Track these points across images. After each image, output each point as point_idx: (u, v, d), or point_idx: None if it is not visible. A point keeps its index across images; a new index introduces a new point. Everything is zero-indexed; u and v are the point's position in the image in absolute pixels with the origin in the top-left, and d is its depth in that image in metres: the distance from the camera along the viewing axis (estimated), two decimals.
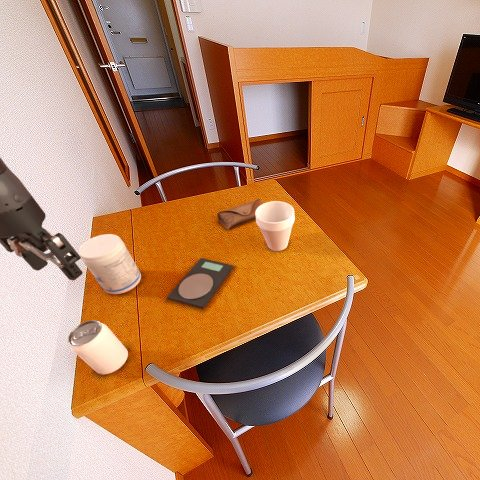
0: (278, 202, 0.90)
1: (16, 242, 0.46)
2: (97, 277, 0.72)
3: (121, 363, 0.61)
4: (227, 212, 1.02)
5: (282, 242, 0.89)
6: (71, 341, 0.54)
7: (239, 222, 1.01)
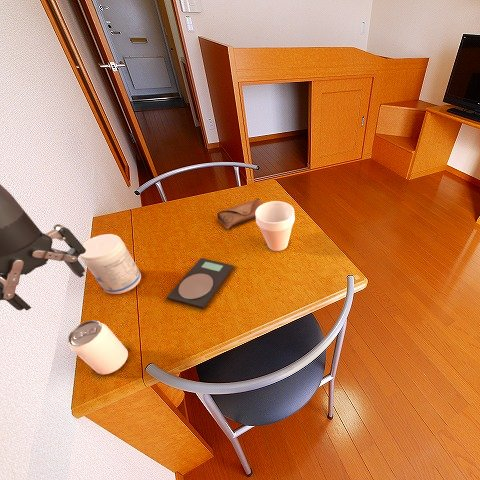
0: (278, 202, 0.90)
1: None
2: (97, 277, 0.72)
3: (121, 363, 0.61)
4: (227, 212, 1.02)
5: (282, 242, 0.89)
6: (71, 341, 0.53)
7: (239, 222, 1.01)
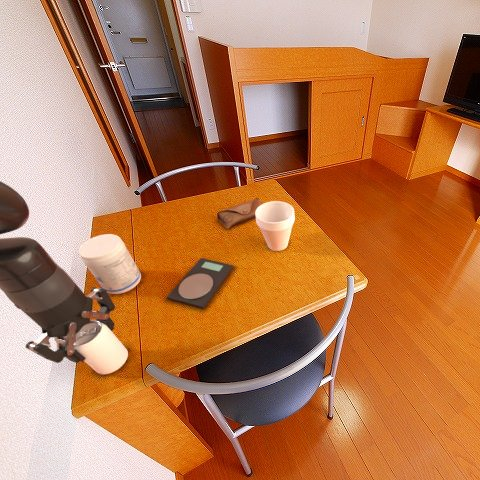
0: (278, 202, 0.90)
1: None
2: (97, 277, 0.72)
3: (121, 363, 0.61)
4: (226, 211, 1.02)
5: (282, 242, 0.89)
6: None
7: (239, 221, 1.02)
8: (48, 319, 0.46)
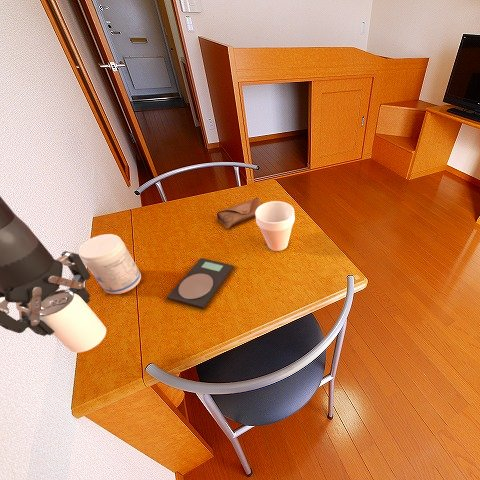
0: (278, 202, 0.90)
1: None
2: (97, 277, 0.72)
3: (98, 340, 0.54)
4: (226, 211, 1.02)
5: (282, 242, 0.89)
6: None
7: (239, 221, 1.02)
8: (4, 278, 0.39)
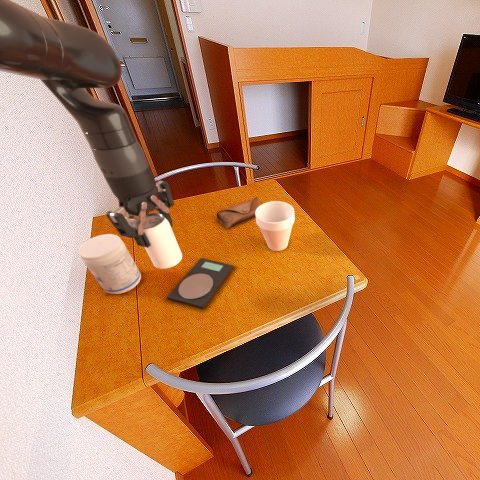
0: (278, 202, 0.90)
1: None
2: (97, 277, 0.72)
3: (178, 260, 0.65)
4: (226, 211, 1.02)
5: (282, 242, 0.89)
6: None
7: (239, 220, 1.02)
8: (128, 188, 0.50)
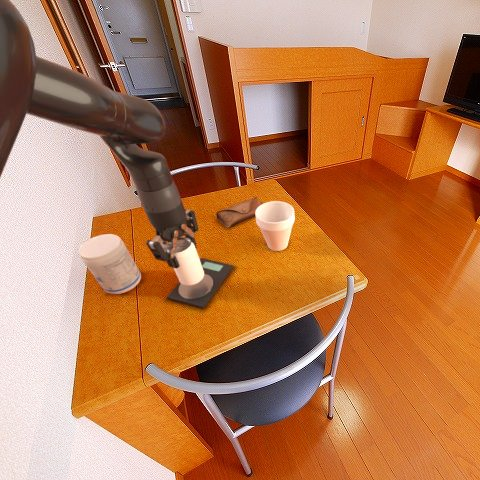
0: (278, 202, 0.90)
1: None
2: (97, 277, 0.72)
3: (201, 277, 0.74)
4: (226, 211, 1.02)
5: (282, 242, 0.89)
6: None
7: (239, 220, 1.02)
8: (165, 220, 0.58)
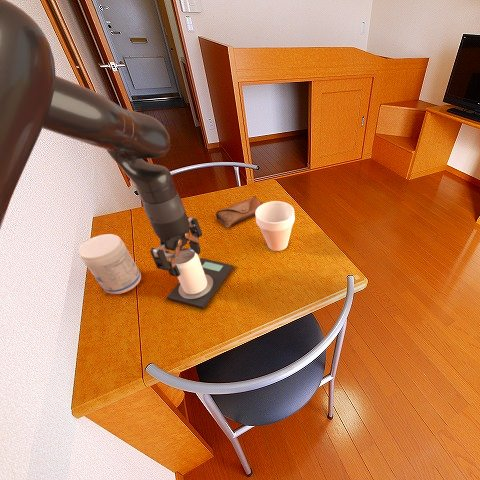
0: (278, 202, 0.90)
1: None
2: (97, 277, 0.72)
3: (204, 286, 0.76)
4: (226, 211, 1.02)
5: (282, 242, 0.89)
6: None
7: (239, 220, 1.02)
8: (169, 231, 0.60)
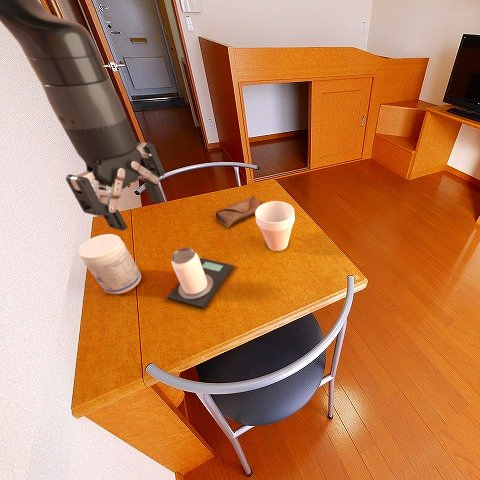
0: (278, 202, 0.90)
1: None
2: (97, 277, 0.72)
3: (204, 286, 0.76)
4: (225, 210, 1.03)
5: (282, 242, 0.89)
6: (174, 261, 0.69)
7: (238, 219, 1.03)
8: (97, 145, 0.37)
